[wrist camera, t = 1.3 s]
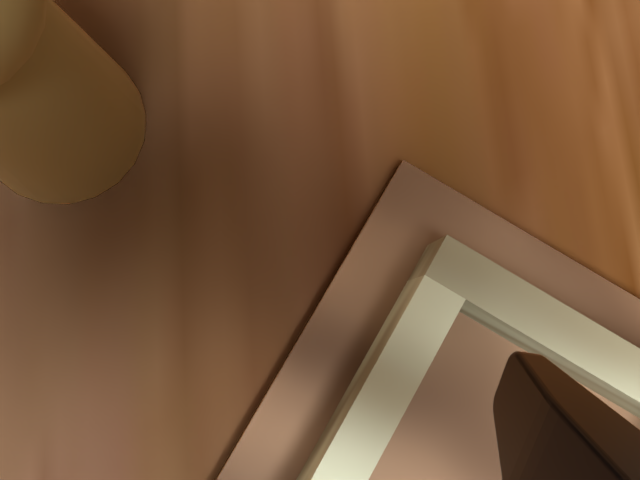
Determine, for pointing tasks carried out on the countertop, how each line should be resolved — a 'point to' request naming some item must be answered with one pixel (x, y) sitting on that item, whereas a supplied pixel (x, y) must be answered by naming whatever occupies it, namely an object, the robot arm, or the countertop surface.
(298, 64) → the countertop surface
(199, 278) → the countertop surface
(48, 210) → the countertop surface
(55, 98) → the cork
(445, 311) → the shaker holder
